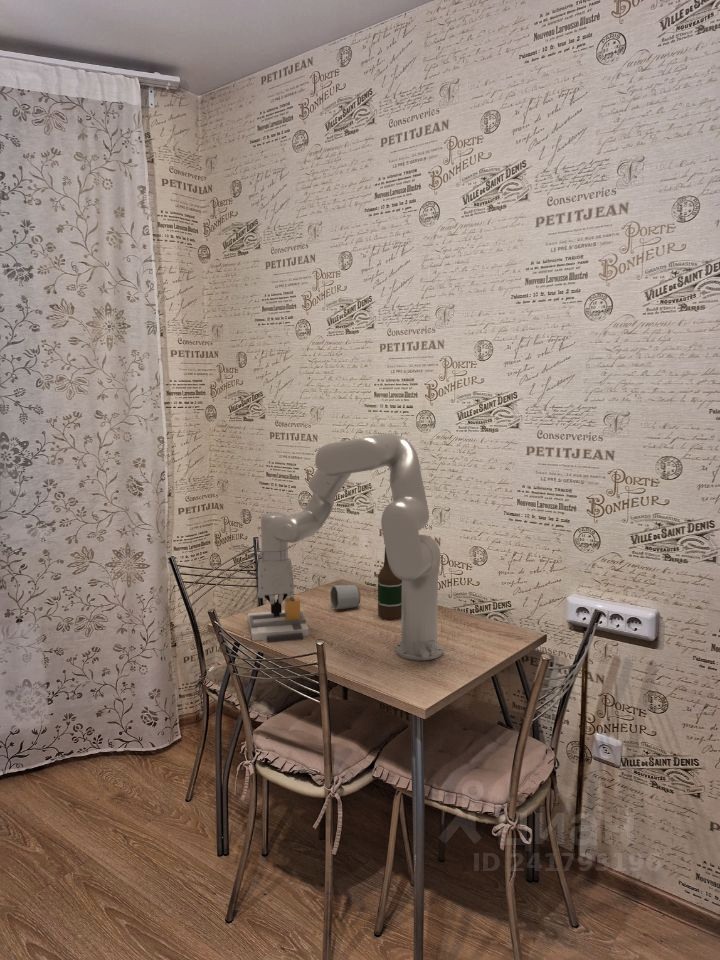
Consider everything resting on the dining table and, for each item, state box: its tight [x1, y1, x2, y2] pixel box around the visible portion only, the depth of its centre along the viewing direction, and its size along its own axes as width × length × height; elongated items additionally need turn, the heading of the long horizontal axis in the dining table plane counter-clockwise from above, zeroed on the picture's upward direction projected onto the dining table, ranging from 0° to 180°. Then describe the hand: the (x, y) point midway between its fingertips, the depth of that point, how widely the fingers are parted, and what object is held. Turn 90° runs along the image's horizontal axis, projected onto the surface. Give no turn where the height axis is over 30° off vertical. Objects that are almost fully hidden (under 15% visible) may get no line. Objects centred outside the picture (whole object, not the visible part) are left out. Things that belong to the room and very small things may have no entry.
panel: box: [247, 609, 310, 642], centre depth 202 cm, size 18×16×3 cm
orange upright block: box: [284, 596, 301, 620], centre depth 202 cm, size 4×4×6 cm
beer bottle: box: [377, 542, 402, 621], centre depth 209 cm, size 8×8×24 cm
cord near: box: [266, 633, 304, 643], centre depth 192 cm, size 1×10×1 cm, turn 103°
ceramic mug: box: [330, 584, 361, 611], centre depth 220 cm, size 11×8×8 cm
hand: (276, 615), depth 201 cm, fingers closed
